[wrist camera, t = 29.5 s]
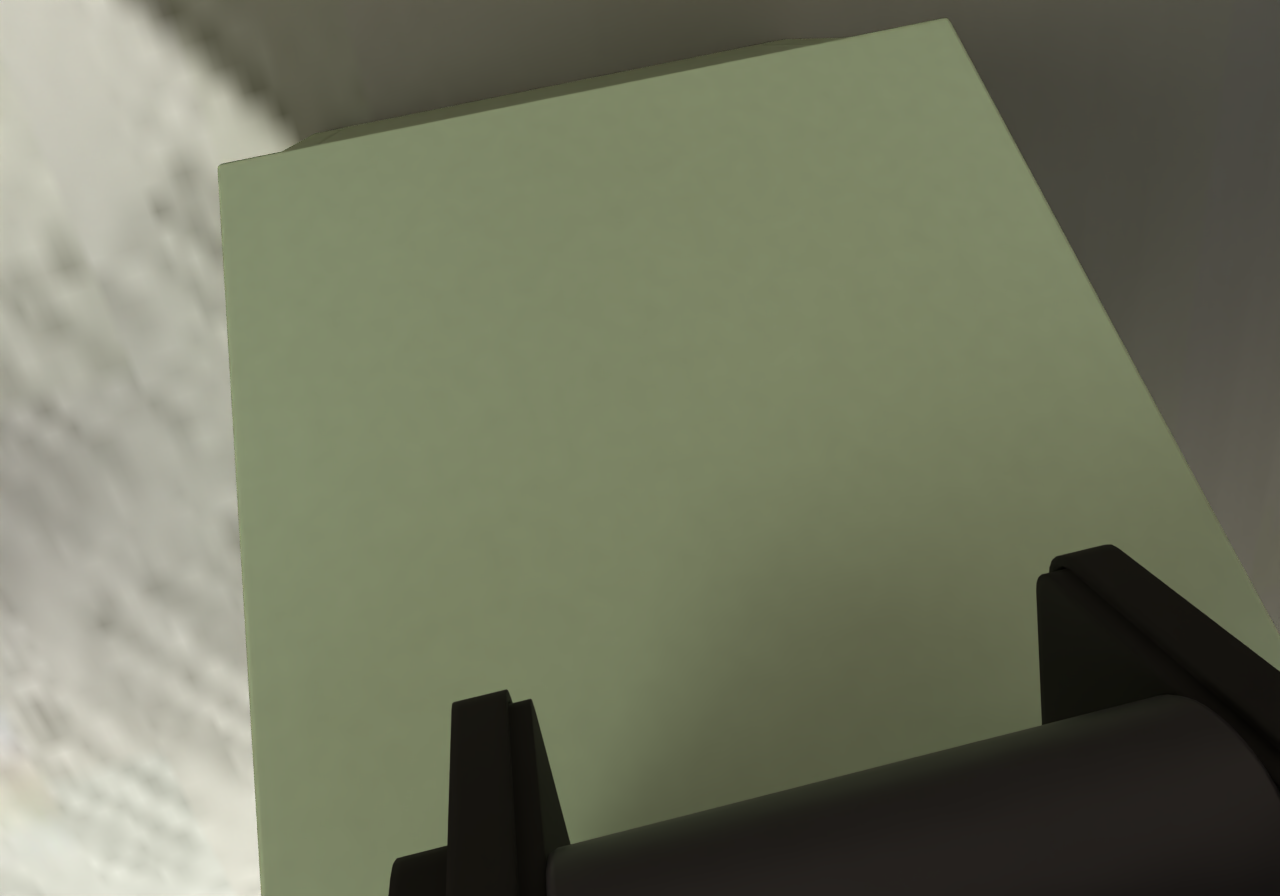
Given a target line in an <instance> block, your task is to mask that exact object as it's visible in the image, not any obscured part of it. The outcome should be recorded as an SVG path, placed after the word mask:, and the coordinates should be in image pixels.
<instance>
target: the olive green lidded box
mask: <svg viewBox="0 0 1280 896" xmlns="http://www.w3.org/2000/svg"><path fill="white" fill-rule="evenodd" d="M845 38H847V37H845ZM837 39H842V38H811V39H782V40H777V41H772V42H767V43H762V44H757V45H753V46H748V47H743V48H738V49H733V50H728V51H723V52H718V53H713V54H708V55H703V56H698V57H693V58H688V59H683V60H678V61H673V62H668V63H663V64H658V65H653V66H648V67H643V68H638V69H633V70H628V71H623V72H618V73H613V74H608V75H603V76H598V77H593V78H588V79H584V80H579V81H574V82H569V83H564V84H559V85H554V86H549V87H544V88H539V89H534V90H529V91H524V92H519V93H514V94H509V95H504V96H499V97H494V98H489V99H484V100H479V101H474V102H469V103H464V104H459V105H454V106H449V107H444V108H439V109H434V110H429V111H424V112H419V113H415V114H410V115H405V116H400V117H395V118H390V119H385V120H380V121H375V122H370V123H365V124H360V125H355V126H350V127H345V128H340V129H335V130H330V131H325V132H320V133H315V134H313V135H311V136H310V137H308V138H306V139H304V140H303V141H301V142H299V143H297V144H295V145H293V146H291V147H289V148H288V149H286V150H284V151H288V150H293V149H298V148H303V147H308V146H313V145H318V144H323V143H327V142H332V141H337V140H342V139H347V138H352V137H357V136H362V135H367V134H372V133H377V132H382V131H387V130H392V129H397V128H402V127H407V126H412V125H417V124H422V123H426V122H431V121H436V120H441V119H446V118H451V117H456V116H461V115H466V114H471V113H476V112H481V111H486V110H491V109H496V108H501V107H506V106H511V105H516V104H521V103H526V102H530V101H535V100H540V99H545V98H550V97H555V96H560V95H565V94H570V93H575V92H580V91H585V90H590V89H595V88H600V87H605V86H610V85H615V84H620V83H625V82H630V81H634V80H639V79H644V78H649V77H654V76H659V75H664V74H669V73H674V72H679V71H684V70H689V69H694V68H699V67H704V66H709V65H714V64H719V63H724V62H729V61H733V60H738V59H743V58H748V57H753V56H758V55H763V54H768V53H773V52H778V51H783V50H788V49H793V48H798V47H803V46H808V45H813V44H818V43H823V42H828V41H833V40H837ZM282 152H283V151H282Z"/></svg>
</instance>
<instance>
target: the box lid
mask: <svg viewBox="0 0 1280 896" xmlns="http://www.w3.org/2000/svg"><path fill="white" fill-rule="evenodd" d="M218 183H219V200H220V216H221V233H222V250H223V266H224V283H225V300H226V316H227V333H228V350H229V366H230V383H231V400H232V416H233V433H234V450H235V466H236V483H237V499H238V516H239V533H240V549H241V566H242V583H243V599H244V616H245V633H246V649H247V666H248V683H249V699H250V716H251V733H252V749H253V766H254V783H255V799H256V816H257V833H258V849H259V866H260V882H261V896H388V895H389V885H390V876H391V871H392V865H393V863H394V862H395V860H396V858H399V857H403V856H407V855H411V854H415V853H419V852H423V851H427V850H431V849H435V848H439V847H443V846H447V837H448V804H449V771H450V738H451V709H452V703H453V702H456V701H460V700H464V699H468V698H472V697H477V696H481V695H485V694H489V693H493V692H497V691H501V690H506V689H507V690H508V691H509V694H510V696H511V699H512V702H513V703H515V702H519V701H523V700H527V699H532V701H533V704H534V707H535V711H536V715H537V718H538V722H539V726H540V730H541V733H542V737H543V741H544V745H545V749H546V752H547V756H548V760H549V764H550V768H551V771H552V775H553V779H554V783H555V787H556V790H557V794H558V798H559V802H560V806H561V809H562V813H563V817H564V821H565V825H566V828H567V832H568V836H569V840H570V845H566V846H562V847H558V848H557V849H555V850H554V851H553V852H551V853H550V854H549V856H548V861H547V867H546V895H547V896H1280V792H1279V790H1278V788H1277V786H1276V784H1275V783H1274V781H1273V780H1272V778H1271V776H1270V775H1269V773H1268V772H1267V770H1266V768H1265V767H1264V766H1263V764H1262V763H1261V761H1260V760H1259V759H1258V757H1257V756H1256V754H1255V753H1254V752H1253V750H1252V749H1251V748H1250V747H1249V746H1248V744H1247V743H1246V742H1245V741H1244V739H1243V738H1242V737H1241V736H1240V735H1239V734H1238V733H1237V732H1236V731H1235V730H1234V729H1233V728H1232V727H1231V725H1229V724H1228V723H1227V722H1226V721H1225V720H1224V719H1223V718H1222V717H1220V716H1219V715H1218V714H1217V713H1215V712H1214V711H1213V710H1211V709H1210V708H1208V707H1207V706H1205V705H1203V704H1201V703H1200V702H1198V701H1196V700H1193V699H1190V698H1187V697H1183V696H1176V695H1169V694H1167V695H1159V696H1155V697H1151V698H1147V699H1143V700H1139V701H1135V702H1131V703H1127V704H1123V705H1119V706H1116V707H1112V708H1108V709H1104V710H1100V711H1096V712H1092V713H1088V714H1084V715H1080V716H1076V717H1072V718H1068V719H1064V720H1060V721H1056V722H1052V723H1048V724H1044V725H1042V716H1041V693H1040V670H1039V646H1038V623H1037V600H1036V582H1037V580H1038V577H1039V576H1040V575H1041V574H1045V573H1049V567H1050V564H1051V561H1052V560H1053V559H1054V558H1055V557H1056V556H1059V555H1063V554H1068V553H1072V552H1076V551H1080V550H1084V549H1088V548H1092V547H1097V546H1101V545H1105V544H1112V545H1114V546H1116V547H1117V548H1119V549H1120V550H1122V551H1123V552H1124V553H1126V554H1127V555H1128V556H1130V557H1131V558H1132V559H1134V560H1135V561H1136V562H1137V563H1139V564H1140V565H1141V566H1143V567H1144V568H1145V569H1147V570H1148V571H1149V572H1151V573H1152V574H1153V575H1154V576H1156V577H1157V578H1158V579H1160V580H1161V581H1162V582H1164V583H1165V584H1166V585H1168V586H1169V587H1170V588H1171V589H1173V590H1174V591H1175V592H1177V593H1178V594H1179V595H1181V596H1182V597H1183V598H1185V599H1186V600H1187V601H1188V602H1190V603H1191V604H1192V605H1194V606H1195V607H1196V608H1198V609H1199V610H1200V611H1202V612H1203V613H1204V614H1205V615H1207V616H1208V617H1209V618H1211V619H1212V620H1213V621H1215V622H1216V623H1217V624H1219V625H1220V626H1221V627H1222V628H1224V629H1225V630H1226V631H1228V632H1229V633H1230V634H1232V635H1233V636H1234V637H1236V638H1237V639H1238V640H1239V641H1241V642H1242V643H1243V644H1245V645H1246V646H1247V647H1249V648H1250V649H1251V650H1253V651H1254V652H1255V653H1256V654H1258V655H1259V656H1260V657H1262V658H1263V659H1264V660H1266V661H1267V662H1268V663H1270V664H1271V665H1272V666H1273V667H1275V668H1276V669H1277V670H1279V671H1280V635H1279V633H1278V631H1277V629H1276V628H1275V626H1274V624H1273V622H1272V620H1271V618H1270V616H1269V615H1268V613H1267V611H1266V609H1265V607H1264V605H1263V603H1262V601H1261V600H1260V598H1259V596H1258V594H1257V592H1256V590H1255V588H1254V587H1253V585H1252V583H1251V581H1250V579H1249V577H1248V575H1247V574H1246V572H1245V570H1244V568H1243V566H1242V564H1241V562H1240V561H1239V559H1238V557H1237V555H1236V553H1235V551H1234V549H1233V547H1232V546H1231V544H1230V542H1229V540H1228V538H1227V536H1226V534H1225V533H1224V531H1223V529H1222V527H1221V525H1220V523H1219V521H1218V520H1217V518H1216V516H1215V514H1214V512H1213V510H1212V508H1211V506H1210V505H1209V503H1208V501H1207V499H1206V497H1205V495H1204V493H1203V492H1202V490H1201V488H1200V486H1199V484H1198V482H1197V480H1196V479H1195V477H1194V475H1193V473H1192V471H1191V469H1190V467H1189V465H1188V464H1187V462H1186V460H1185V458H1184V456H1183V454H1182V452H1181V451H1180V449H1179V447H1178V445H1177V443H1176V441H1175V439H1174V438H1173V436H1172V434H1171V432H1170V430H1169V428H1168V426H1167V425H1166V423H1165V421H1164V419H1163V417H1162V415H1161V413H1160V411H1159V410H1158V408H1157V406H1156V404H1155V402H1154V400H1153V398H1152V397H1151V395H1150V393H1149V391H1148V389H1147V387H1146V385H1145V384H1144V382H1143V380H1142V378H1141V376H1140V374H1139V372H1138V370H1137V369H1136V367H1135V365H1134V363H1133V361H1132V359H1131V357H1130V356H1129V354H1128V352H1127V350H1126V348H1125V346H1124V344H1123V343H1122V341H1121V339H1120V337H1119V335H1118V333H1117V331H1116V329H1115V328H1114V326H1113V324H1112V322H1111V320H1110V318H1109V316H1108V315H1107V313H1106V311H1105V309H1104V307H1103V305H1102V303H1101V302H1100V300H1099V298H1098V296H1097V294H1096V292H1095V290H1094V288H1093V287H1092V285H1091V283H1090V281H1089V279H1088V277H1087V275H1086V274H1085V272H1084V270H1083V268H1082V266H1081V264H1080V262H1079V261H1078V259H1077V257H1076V255H1075V253H1074V251H1073V249H1072V248H1071V246H1070V244H1069V242H1068V240H1067V238H1066V236H1065V234H1064V233H1063V231H1062V229H1061V227H1060V225H1059V223H1058V221H1057V220H1056V218H1055V216H1054V214H1053V212H1052V210H1051V208H1050V207H1049V205H1048V203H1047V201H1046V199H1045V197H1044V195H1043V193H1042V192H1041V190H1040V188H1039V186H1038V184H1037V182H1036V180H1035V179H1034V177H1033V175H1032V173H1031V171H1030V169H1029V167H1028V166H1027V164H1026V162H1025V160H1024V158H1023V156H1022V154H1021V152H1020V151H1019V149H1018V147H1017V145H1016V143H1015V141H1014V139H1013V138H1012V136H1011V134H1010V132H1009V130H1008V128H1007V126H1006V125H1005V123H1004V121H1003V119H1002V117H1001V115H1000V113H999V112H998V110H997V108H996V106H995V104H994V102H993V100H992V98H991V97H990V95H989V93H988V91H987V89H986V87H985V85H984V84H983V82H982V80H981V78H980V76H979V74H978V72H977V71H976V69H975V67H974V65H973V63H972V61H971V59H970V57H969V56H968V54H967V52H966V50H965V48H964V46H963V44H962V43H961V41H960V39H959V37H958V35H957V33H956V31H955V30H954V28H953V26H952V24H951V22H950V20H949V19H947V18H941V19H937V20H932V21H927V22H922V23H917V24H912V25H907V26H902V27H897V28H892V29H887V30H882V31H877V32H872V33H867V34H862V35H857V36H852V37H847V38H842V39H837V40H833V41H828V42H823V43H818V44H813V45H808V46H803V47H798V48H793V49H788V50H783V51H778V52H773V53H768V54H763V55H758V56H753V57H748V58H743V59H738V60H733V61H729V62H724V63H719V64H714V65H709V66H704V67H699V68H694V69H689V70H684V71H679V72H674V73H669V74H664V75H659V76H654V77H649V78H644V79H639V80H634V81H630V82H625V83H620V84H615V85H610V86H605V87H600V88H595V89H590V90H585V91H580V92H575V93H570V94H565V95H560V96H555V97H550V98H545V99H540V100H535V101H530V102H526V103H521V104H516V105H511V106H506V107H501V108H496V109H491V110H486V111H481V112H476V113H471V114H466V115H461V116H456V117H451V118H446V119H441V120H436V121H431V122H426V123H422V124H417V125H412V126H407V127H402V128H397V129H392V130H387V131H382V132H377V133H372V134H367V135H362V136H357V137H352V138H347V139H342V140H337V141H332V142H327V143H323V144H318V145H313V146H308V147H303V148H298V149H293V150H288V151H283V152H278V153H273V154H268V155H263V156H258V157H253V158H248V159H243V160H238V161H233V162H228V163H223V164H221V165H219V166H218Z"/></svg>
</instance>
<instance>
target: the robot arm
mask: <svg viewBox="0 0 1280 896" xmlns="http://www.w3.org/2000/svg"><path fill="white" fill-rule="evenodd" d="M1036 600H1037V623H1038V646H1039V670H1040V693H1041V716H1042V725H1044V724H1048V723H1052V722H1056V721H1060V720H1064V719H1068V718H1072V717H1076V716H1080V715H1084V714H1088V713H1092V712H1096V711H1100V710H1104V709H1108V708H1112V707H1116V706H1119V705H1123V704H1127V703H1131V702H1135V701H1139V700H1143V699H1147V698H1151V697H1155V696H1159V695H1167V694H1169V695H1176V696H1183V697H1187V698H1190V699H1193V700H1196V701H1198V702H1200V703H1201V704H1203V705H1205V706H1207V707H1208V708H1210V709H1211V710H1213V711H1214V712H1215V713H1217V714H1218V715H1219V716H1220V717H1222V718H1223V719H1224V720H1225V721H1226V722H1227V723H1228V724H1229V725H1231V727H1232V728H1233V729H1234V730H1235V731H1236V732H1237V733H1238V734H1239V735H1240V736H1241V737H1242V738H1243V739H1244V741H1245V742H1246V743H1247V744H1248V746H1249V747H1250V748H1251V749H1252V750H1253V752H1254V753H1255V754H1256V756H1257V757H1258V759H1259V760H1260V761H1261V763H1262V764H1263V766H1264V767H1265V768H1266V770H1267V772H1268V773H1269V775H1270V776H1271V778H1272V780H1273V781H1274V783H1275V784H1276V786H1277V788H1278V790H1279V792H1280V671H1279V670H1277V669H1276V668H1275V667H1273V666H1272V665H1271V664H1270V663H1268V662H1267V661H1266V660H1264V659H1263V658H1262V657H1260V656H1259V655H1258V654H1256V653H1255V652H1254V651H1253V650H1251V649H1250V648H1249V647H1247V646H1246V645H1245V644H1243V643H1242V642H1241V641H1239V640H1238V639H1237V638H1236V637H1234V636H1233V635H1232V634H1230V633H1229V632H1228V631H1226V630H1225V629H1224V628H1222V627H1221V626H1220V625H1219V624H1217V623H1216V622H1215V621H1213V620H1212V619H1211V618H1209V617H1208V616H1207V615H1205V614H1204V613H1203V612H1202V611H1200V610H1199V609H1198V608H1196V607H1195V606H1194V605H1192V604H1191V603H1190V602H1188V601H1187V600H1186V599H1185V598H1183V597H1182V596H1181V595H1179V594H1178V593H1177V592H1175V591H1174V590H1173V589H1171V588H1170V587H1169V586H1168V585H1166V584H1165V583H1164V582H1162V581H1161V580H1160V579H1158V578H1157V577H1156V576H1154V575H1153V574H1152V573H1151V572H1149V571H1148V570H1147V569H1145V568H1144V567H1143V566H1141V565H1140V564H1139V563H1137V562H1136V561H1135V560H1134V559H1132V558H1131V557H1130V556H1128V555H1127V554H1126V553H1124V552H1123V551H1122V550H1120V549H1119V548H1117V547H1116V546H1114V545H1112V544H1105V545H1101V546H1097V547H1092V548H1088V549H1084V550H1080V551H1076V552H1072V553H1068V554H1063V555H1059V556H1056V557H1055V558H1054V559H1053V560H1052V561H1051V564H1050V567H1049V573H1045V574H1041V575H1040V576H1039V577H1038V580H1037V582H1036ZM566 845H570V840H569V836H568V832H567V828H566V825H565V821H564V817H563V813H562V809H561V806H560V802H559V798H558V794H557V790H556V787H555V783H554V779H553V775H552V771H551V768H550V764H549V760H548V756H547V752H546V749H545V745H544V741H543V737H542V733H541V730H540V726H539V722H538V718H537V715H536V711H535V707H534V704H533V701H532V699H527V700H523V701H519V702H515V703H513V702H512V699H511V696H510V694H509V691H508V690H507V689H506V690H501V691H497V692H493V693H489V694H485V695H481V696H477V697H472V698H468V699H464V700H460V701H456V702H453V703H452V709H451V738H450V771H449V804H448V837H447V846H443V847H439V848H435V849H431V850H427V851H423V852H419V853H415V854H411V855H407V856H403V857H399V858H396V860H395V862H394V863H393V865H392V871H391V876H390V885H389V895H388V896H547V895H546V867H547V861H548V856H549V854H550V853H551V852H553V851H554V850H555V849H557V848H558V847H562V846H566Z"/></svg>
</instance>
